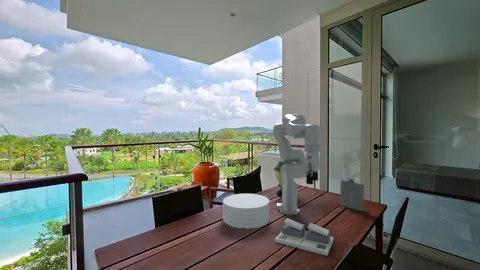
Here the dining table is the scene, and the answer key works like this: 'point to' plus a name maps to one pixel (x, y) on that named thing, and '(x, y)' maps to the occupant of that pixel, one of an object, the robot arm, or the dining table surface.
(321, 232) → the right switch
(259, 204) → the plate stack
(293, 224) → the left switch
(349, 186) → the hip flask
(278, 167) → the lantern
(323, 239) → the panel
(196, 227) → the dining table surface
